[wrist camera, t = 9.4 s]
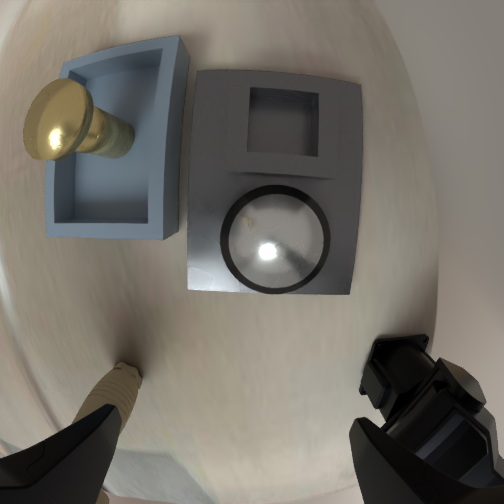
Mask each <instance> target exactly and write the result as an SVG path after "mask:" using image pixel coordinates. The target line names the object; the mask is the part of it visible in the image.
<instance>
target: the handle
mask: <svg viewBox="0 0 504 504" xmlns="http://www.w3.org/2000/svg"><path fill="white" fill-rule="evenodd" d="M141 384H142V378H141V377H140V376H139V374H138V370H137V369H136V368H135V367H131V366H129V365H127V364H125V363H123V362H119V363H118V364H117V365H116V366H115V367H114V368H113V369H112V370H111V371H110V372H108V373H107V374H106V375H105V376H104V377H103V378H102V379H101V380H100V381H99V382H98V383H97V385H96V386H95V387H94V388H93V389H92V391H91V392H90V394H89V395H88V396H87V398H86V399H85V401H84V403H83V404H82V406H81V408H80V410H79V412H78V413H77V415H76V417H75V419H74V421H73V422H72V424H73V423H75V422H76V421H78V420H80V419H82V418H83V417H85V416H87V415H88V414H90V413H92V412H93V411H95V410H96V409H98V408H100V407H101V406H103V405H105V404H107V403H109V404H113V405H116V406H117V407H118V410H119V413H120V415H121V418H122V425H121V429H120V433H121V432H122V430H123V428H124V427H125V425H126V423H127V421H128V419H129V417H130V414H131V412H132V410H133V407H134V404H135V402H136V398H137V394H138V389H140V387H141ZM120 433H119V435H120ZM96 504H109V498H108V496H107V495H106V493H105V492H104V491H103V490H102V488H101V490H100V493H99V496H98V499H97V502H96Z"/></svg>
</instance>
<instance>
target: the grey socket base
mask: <svg viewBox="0 0 504 504" xmlns="http://www.w3.org/2000/svg"><path fill="white" fill-rule="evenodd" d="M362 153H363V121H362V93H361V85H359V84H355V83H350V82H345V81H340V80H335V79H329V78H323V77H317V76H310V75H302V74H293V73H283V72H271V71H252V70H207V71H197V76H196V85H195V95H194V105H193V116H192V129H191V143H190V160H189V182H188V222H187V260H188V289H191V290H208V291H226V292H247V293H265V294H322V295H350V288H351V282H352V275H353V268H354V261H355V253H356V244H357V235H358V225H359V213H360V200H361V183H362Z"/></svg>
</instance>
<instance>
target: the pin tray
mask: <svg viewBox="0 0 504 504" xmlns="http://www.w3.org/2000/svg"><path fill="white" fill-rule="evenodd" d="M189 60H190V56H189V54H188V52H187V50H186V48H185V46H184V44H183V41H182V39H181V37H180V35H179V36H170V37H163V38H156V39H150V40H145V41H139V42H134V43H130V44H125V45H121V46H117V47H113V48H109V49H105V50H101V51H98V52H95V53H91V54H88V55H85V56H82V57H79V58H76V59H73V60H70V61H67V62H65V63H63V65H62V69H61V73H60V77H59V79H61V78H68V79H71V80H73V81H75V82H77V83H79V84H81V85H82V86H84V87H86V88H87V89H88V90H89V91H90V93H91V95H92V98H93V103H94V106H96V107H98V108H100V109H102V110H104V111H106V112H108V113H110V114H112V115H114V116H116V117H118V118H120V119H122V120H124V121H126V122H128V123H129V124H130V125H131V126H132V127H133V129H134V133H135V139H134V143H133V146H132V148H131V149H130V151H129V152H128V153H127V154H126V155H124V156H123V157H121V158H118V159H111V158H106V157H101V156H96V155H91V154H85V153H80V152H74V153H72V154H71V155H70V156H68V157H67V158H65V159H63V160H60V161H46V178H45V215H46V234H47V237H77V238H111V239H142V240H164V239H166V238H168V237H170V236H171V235H173V234H175V233H177V232H178V196H179V169H180V151H181V136H182V123H183V112H184V102H185V92H186V83H187V75H188V68H189Z"/></svg>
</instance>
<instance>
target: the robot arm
mask: <svg viewBox="0 0 504 504" xmlns="http://www.w3.org/2000/svg"><path fill="white" fill-rule="evenodd" d="M424 339H425V340H424ZM423 340H424V341H423ZM428 341H429V337H428V336H427V335H426V334H423V335H415V336H407V337H397V338H387V339H378V340H376V341H375V342H374V343H373V346H372V350H371V353H370V357H369V360H368V362H367V363H366V367H365V370H364V373H363V376H362V379H361V386H360V388H359V392H360V394H361V395H368V397H369V399H370V401H371V403H372V405H373V407H374V408H375V409H379V410H380V412H381V414H382V416H383V418H384V419H385V421H386V423H385V424H384V425H383V426H382V427H381V428H379V427H378V426H377V425H375V424H374V423H373V422H372V421H370V420H369V419H368V418H366V417H361V418H356V419H355V420H354V422H353V424H352V427H351V429H350V432H349V438H350V444H351V451H352V457H353V463H354V468H355V472H356V476H357V479H358V483H359V486H360V490H361V493H362V496H363V500H364V504H504V459H503V458H502V457H501V456H500V455H499V452H498V440H497V431H496V423H495V418H494V417H493V416H492V415H491V413H489V411H488V410H487V409H486V408H484V405H485V404H486V399H485V397H484V394H483V392H482V390H481V387H480V385H479V382H478V381H477V380H476V379H475V378H474V377H473V376H472V375H470V374H469V373H468V372H467V371H466V370H465V369H463V368H462V367H460V366H457V365H455V364H453V363H451V362H449V361H447V360H445V359H442V358H439V359H438V360H437V362H435V361H434V360H433V359H432V358H431V357H430V356H429V355H428V354H427V353H426V352H425V350H426V347H427V344H428ZM378 344H380V345H379V346H377V345H378ZM121 425H122V418H121V415H120V413H119V410H118V407H117V406H116V405H113V404H109V403H107V404H105V405H103V406H101V407H100V408H98V409H96V410H95V411H93V412H92V413H90V414H88V415H87V416H85V417H83V418H82V419H80V420H78V421H76V422H75V423H73V424H71V425H70V426H68V427H66V428H64V429H63V430H61V431H59V432H57V433H56V434H54V435H52V436H50V437H48V438H47V439H45V440H43V441H41V442H39V443H37V444H35V445H33V446H31V447H29V448H27V449H25V450H22V451H20V452H17V453H14V454H12V455H9V456H6V457H3V458H0V504H96V502H97V499H98V496H99V493H100V490H101V487H102V485H103V482H104V479H105V477H106V474H107V471H108V469H109V466H110V463H111V461H112V458H113V455H114V452H115V449H116V445H117V441H118V437H119V433H120V429H121Z"/></svg>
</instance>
